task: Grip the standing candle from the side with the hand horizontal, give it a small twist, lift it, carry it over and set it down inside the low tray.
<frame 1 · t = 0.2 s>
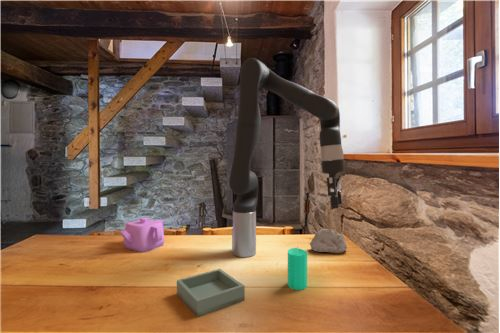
hand: (336, 206, 97), 22 cm above the table, tool pointing down, fingers open, 8 cm apart
pumice stone: (328, 251, 117), on the table
candle: (297, 285, 87), on the table
tray: (210, 296, 80), on the table
teakettle: (142, 246, 123), on the table
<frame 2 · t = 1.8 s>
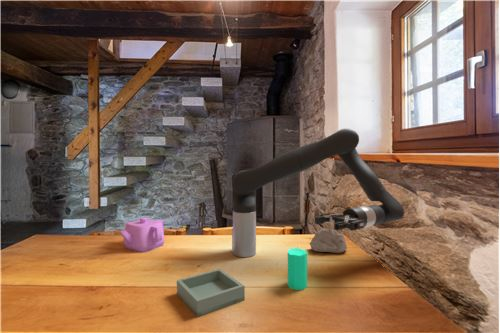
hand: (324, 223, 92), 17 cm above the table, tool horizontal, fingers open, 8 cm apart
nothing on the table moved.
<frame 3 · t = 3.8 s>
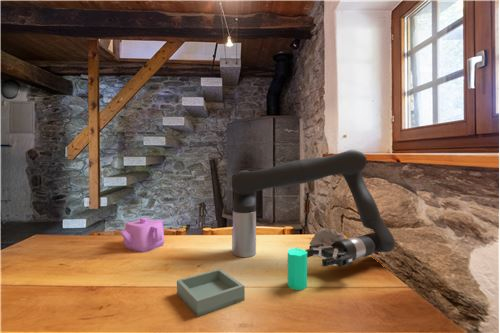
hand: (313, 258, 90), 7 cm above the table, tool horizontal, fingers open, 8 cm apart
nothing on the table moved.
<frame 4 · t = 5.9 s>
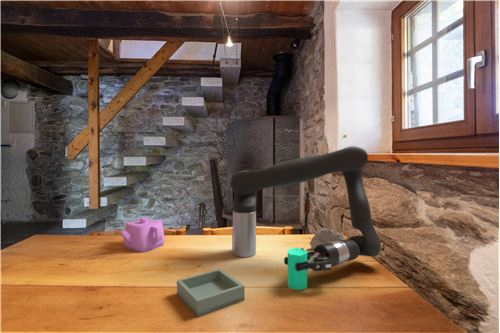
hand: (290, 264, 85), 7 cm above the table, tool horizontal, fingers closed on candle, 5 cm apart
candle: (297, 285, 87), on the table, touching gripper
everything else where it was.
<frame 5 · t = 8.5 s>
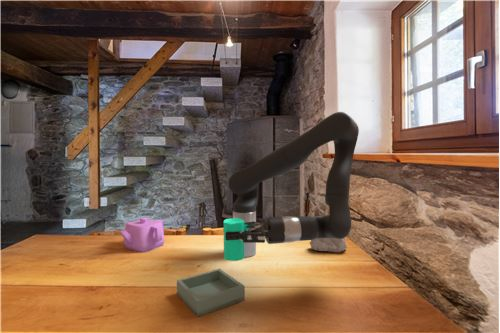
hand: (224, 233, 80), 18 cm above the table, tool horizontal, fingers closed on candle, 5 cm apart
candle: (234, 257, 81), point 11 cm above the table, touching gripper
when the fingers open (9 cm above the table, at t = 11.0 s): candle drops 1 cm, resting on tray.
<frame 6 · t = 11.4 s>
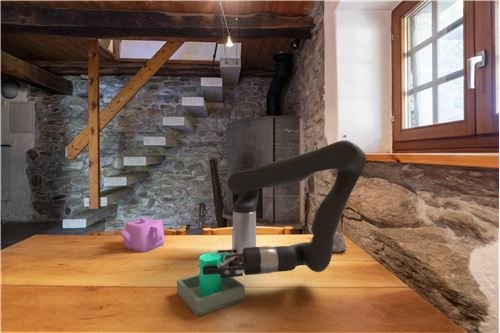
hand: (202, 264, 79), 10 cm above the table, tool horizontal, fingers open, 8 cm apart
candle: (210, 294, 80), point 1 cm above the table, touching tray
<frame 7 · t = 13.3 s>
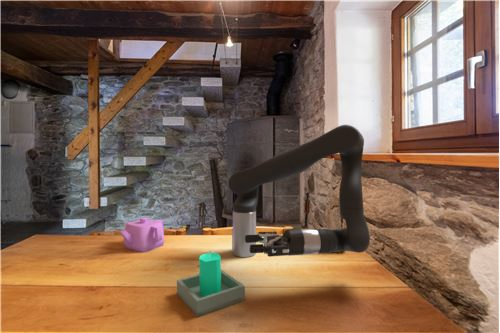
hand: (247, 243, 81), 14 cm above the table, tool horizontal, fingers open, 8 cm apart
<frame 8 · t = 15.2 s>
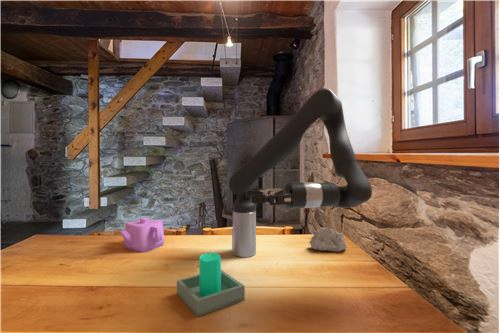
hand: (248, 196, 80), 28 cm above the table, tool horizontal, fingers open, 8 cm apart
at the end: candle inside the target area on the tray (0.1 cm from its centre), point 0.8 cm above the tray's base; candle tilted 0°; the gripper is holding nothing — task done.
